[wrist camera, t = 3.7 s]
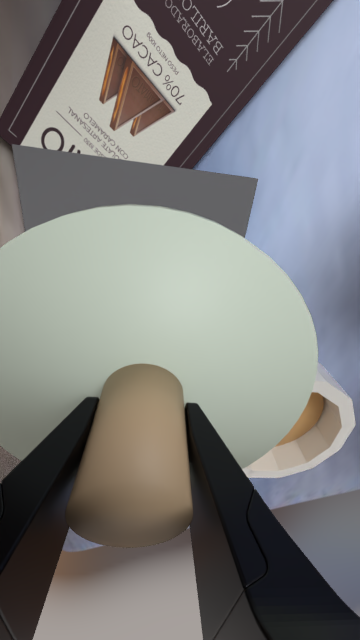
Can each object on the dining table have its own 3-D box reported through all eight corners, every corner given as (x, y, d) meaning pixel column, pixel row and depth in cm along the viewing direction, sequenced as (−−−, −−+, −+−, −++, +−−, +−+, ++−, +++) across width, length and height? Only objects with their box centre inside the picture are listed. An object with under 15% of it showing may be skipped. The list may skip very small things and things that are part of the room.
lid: (363, 233, 8) (593, 292, 4) (255, 476, 14) (296, 609, 10) (-84, 172, 7) (-528, 156, 2) (5, 469, 13) (-78, 619, 8)
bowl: (337, 345, 22) (380, 384, 18) (296, 431, 27) (321, 478, 23) (214, 335, 21) (227, 375, 17) (194, 427, 26) (200, 476, 22)
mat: (255, 178, 16) (258, 178, 16) (214, 360, 22) (215, 364, 22) (17, 145, 15) (11, 144, 14) (46, 349, 21) (44, 353, 21)
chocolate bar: (379, -55, 11) (126, 246, 17) (364, -39, 12) (128, 243, 18) (253, -364, 8) (-7, 130, 14) (245, -314, 9) (3, 133, 15)
